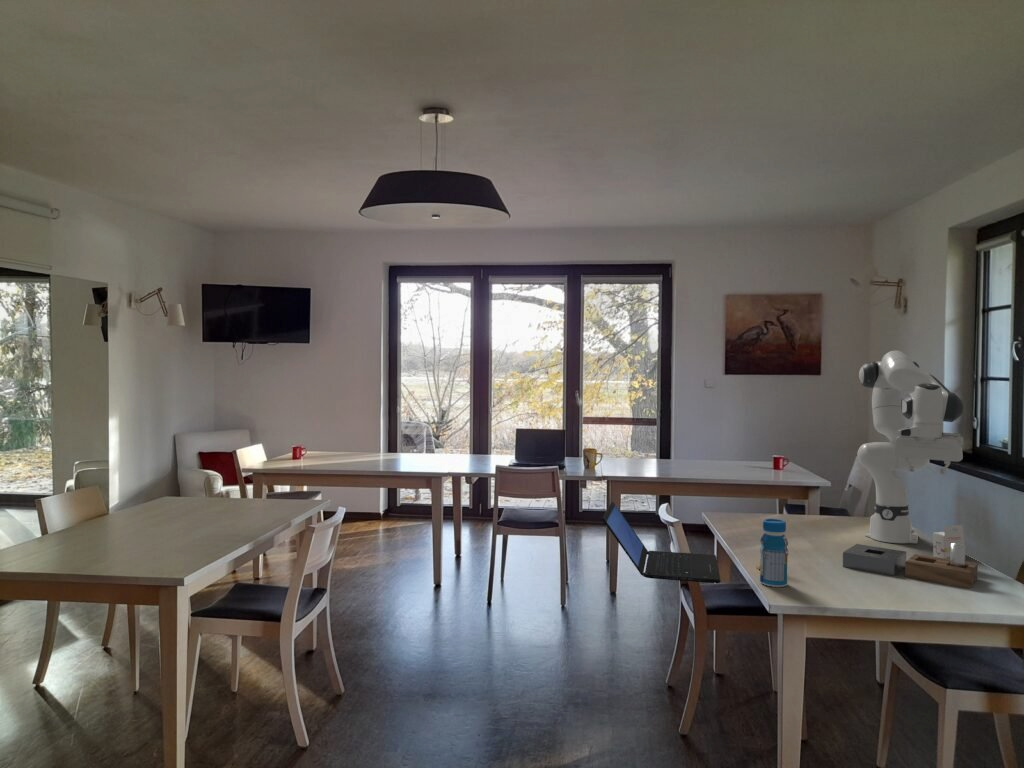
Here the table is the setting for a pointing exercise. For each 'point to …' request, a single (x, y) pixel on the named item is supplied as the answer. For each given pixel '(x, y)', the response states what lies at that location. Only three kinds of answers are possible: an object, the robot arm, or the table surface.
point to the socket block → (874, 559)
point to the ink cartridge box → (946, 540)
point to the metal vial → (957, 554)
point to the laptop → (660, 555)
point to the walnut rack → (940, 571)
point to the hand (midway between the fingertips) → (927, 472)
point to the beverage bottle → (774, 553)
